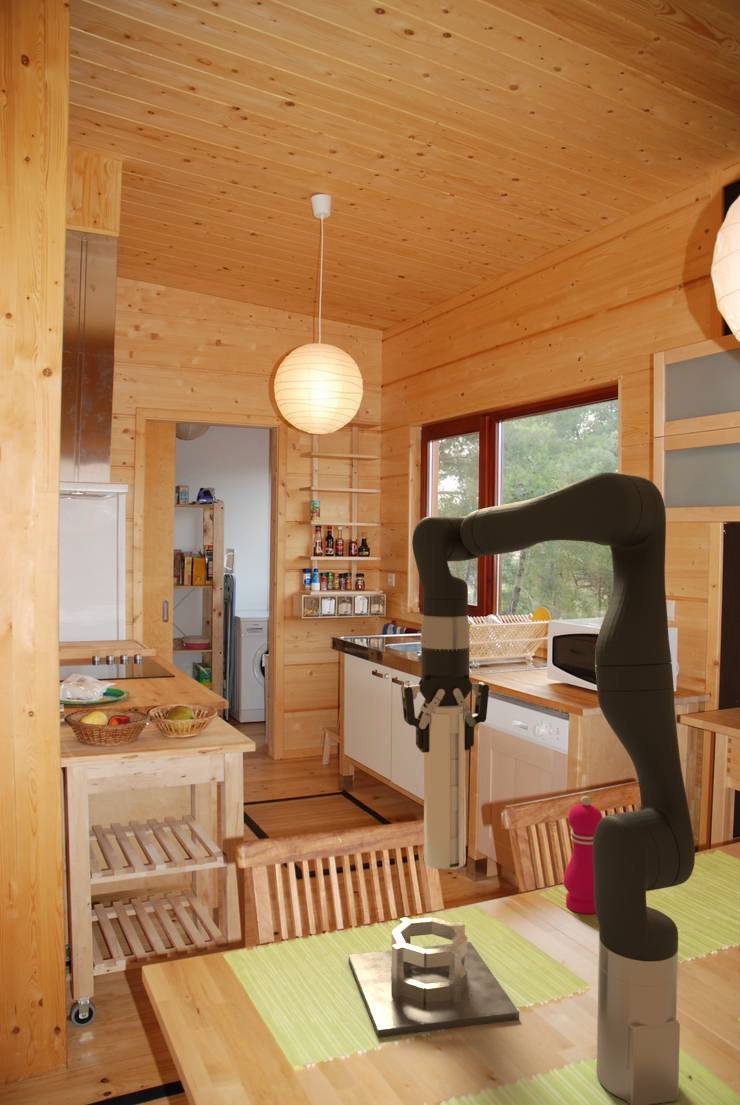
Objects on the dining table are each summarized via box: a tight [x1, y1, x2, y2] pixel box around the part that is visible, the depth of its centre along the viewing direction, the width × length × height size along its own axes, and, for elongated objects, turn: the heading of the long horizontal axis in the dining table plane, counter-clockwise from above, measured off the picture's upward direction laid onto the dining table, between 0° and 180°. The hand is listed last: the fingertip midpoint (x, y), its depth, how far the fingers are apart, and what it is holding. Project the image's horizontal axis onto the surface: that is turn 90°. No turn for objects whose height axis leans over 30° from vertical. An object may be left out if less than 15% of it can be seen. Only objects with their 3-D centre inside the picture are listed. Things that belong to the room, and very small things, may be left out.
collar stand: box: [348, 916, 520, 1038], centre depth 124 cm, size 20×20×8 cm
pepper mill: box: [563, 795, 603, 915], centre depth 151 cm, size 7×7×20 cm
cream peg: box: [423, 704, 467, 871], centre depth 133 cm, size 6×6×25 cm
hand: (445, 750), depth 133 cm, fingers closed on cream peg, 6 cm apart
